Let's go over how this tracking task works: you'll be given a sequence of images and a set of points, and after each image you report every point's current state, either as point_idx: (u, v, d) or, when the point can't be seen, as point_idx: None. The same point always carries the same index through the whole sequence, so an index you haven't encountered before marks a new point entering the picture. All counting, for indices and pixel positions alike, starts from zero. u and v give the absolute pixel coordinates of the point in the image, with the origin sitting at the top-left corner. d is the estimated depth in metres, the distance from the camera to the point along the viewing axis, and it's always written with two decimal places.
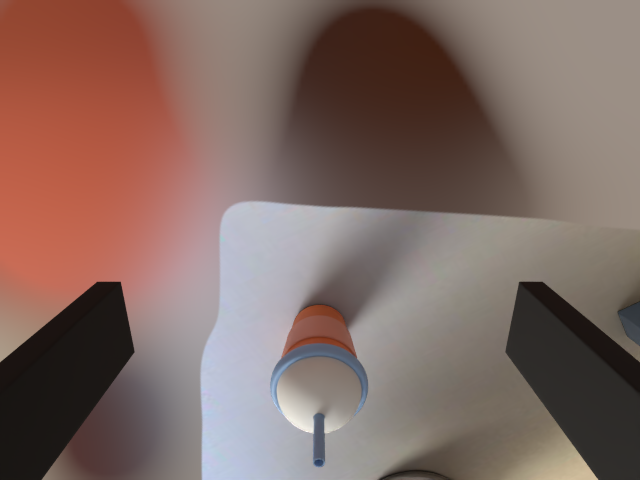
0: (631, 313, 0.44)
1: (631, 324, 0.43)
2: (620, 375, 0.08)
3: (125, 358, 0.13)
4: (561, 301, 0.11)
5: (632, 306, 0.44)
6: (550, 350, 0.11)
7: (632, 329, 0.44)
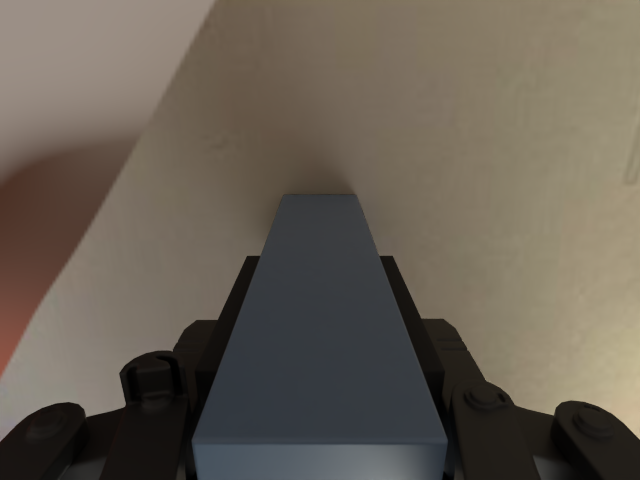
0: None
1: None
2: None
3: None
4: (395, 270, 0.13)
5: None
6: None
7: None
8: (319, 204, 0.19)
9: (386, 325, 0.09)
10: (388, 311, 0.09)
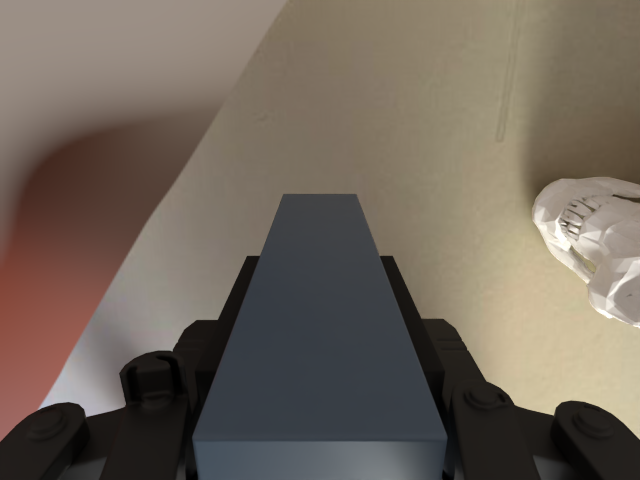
0: None
1: None
2: None
3: None
4: (395, 270, 0.13)
5: None
6: None
7: None
8: (319, 203, 0.19)
9: (386, 323, 0.09)
10: (388, 309, 0.10)
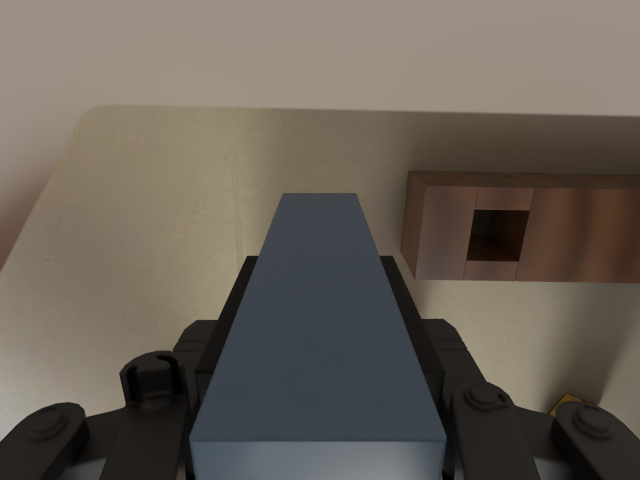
0: None
1: None
2: None
3: None
4: (395, 270, 0.13)
5: None
6: None
7: None
8: (318, 203, 0.19)
9: (385, 322, 0.09)
10: (387, 309, 0.09)
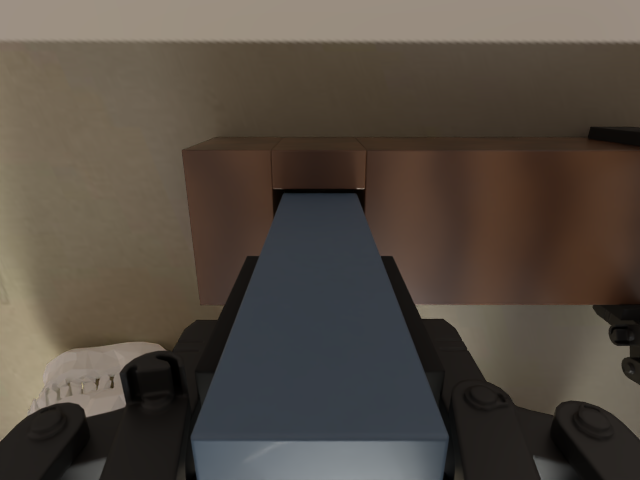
0: None
1: None
2: None
3: None
4: (395, 270, 0.13)
5: None
6: None
7: None
8: (319, 202, 0.19)
9: (386, 322, 0.09)
10: (388, 308, 0.09)
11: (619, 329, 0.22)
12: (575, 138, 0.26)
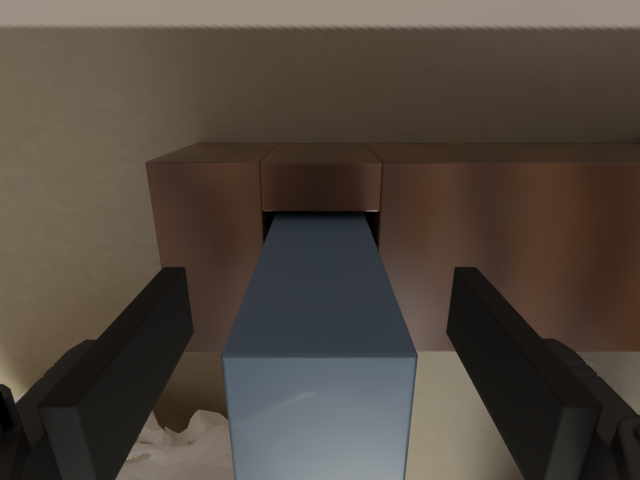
0: None
1: None
2: (515, 342, 0.09)
3: (187, 338, 0.14)
4: (486, 283, 0.12)
5: None
6: (473, 327, 0.12)
7: None
8: None
9: (375, 282, 0.11)
10: (377, 273, 0.11)
11: None
12: (630, 144, 0.21)
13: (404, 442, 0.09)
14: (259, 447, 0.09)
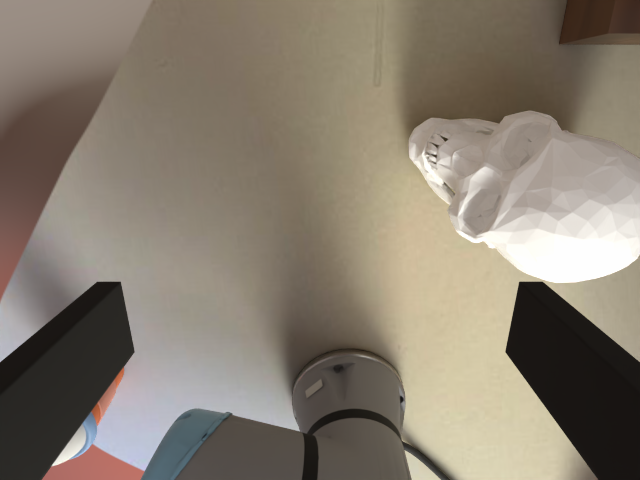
0: None
1: None
2: (620, 375, 0.08)
3: (125, 358, 0.13)
4: (561, 301, 0.11)
5: None
6: (550, 350, 0.11)
7: None
8: None
9: None
10: None
11: None
12: None
13: None
14: None
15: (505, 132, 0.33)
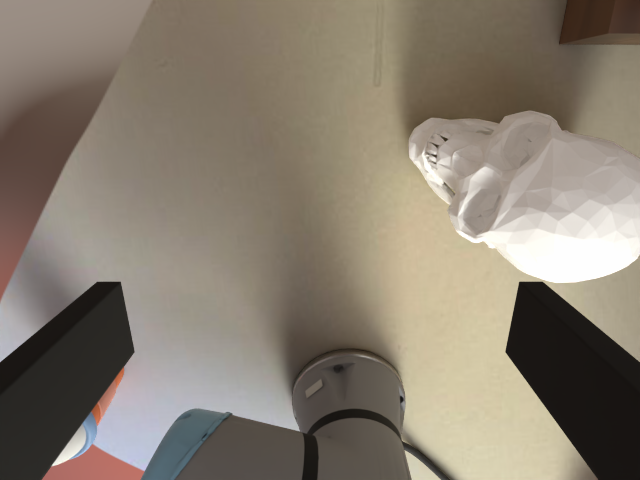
0: None
1: None
2: (620, 375, 0.08)
3: (125, 358, 0.13)
4: (561, 301, 0.11)
5: None
6: (550, 350, 0.11)
7: None
8: None
9: None
10: None
11: None
12: None
13: None
14: None
15: (505, 132, 0.33)
